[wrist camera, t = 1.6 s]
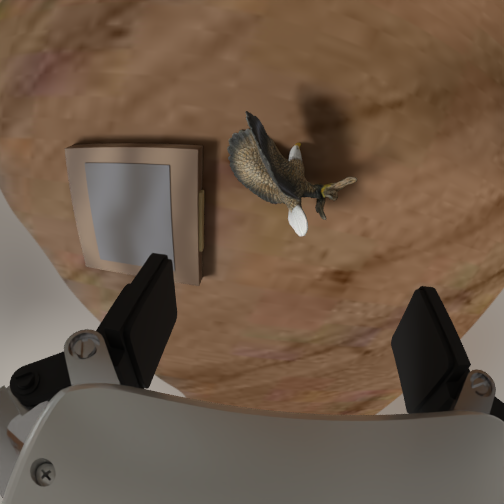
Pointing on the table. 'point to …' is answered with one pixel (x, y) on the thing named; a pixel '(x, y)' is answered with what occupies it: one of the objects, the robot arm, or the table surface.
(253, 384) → the table surface
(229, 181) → the table surface
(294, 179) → the eagle figurine
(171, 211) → the wooden picture frame
